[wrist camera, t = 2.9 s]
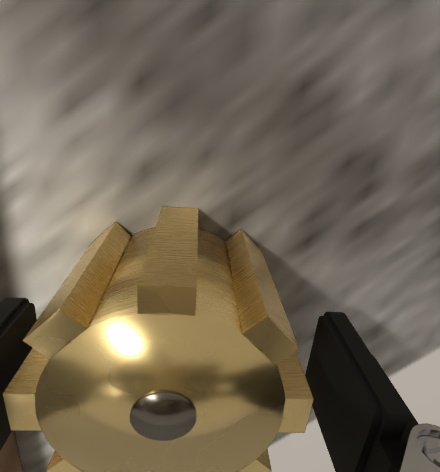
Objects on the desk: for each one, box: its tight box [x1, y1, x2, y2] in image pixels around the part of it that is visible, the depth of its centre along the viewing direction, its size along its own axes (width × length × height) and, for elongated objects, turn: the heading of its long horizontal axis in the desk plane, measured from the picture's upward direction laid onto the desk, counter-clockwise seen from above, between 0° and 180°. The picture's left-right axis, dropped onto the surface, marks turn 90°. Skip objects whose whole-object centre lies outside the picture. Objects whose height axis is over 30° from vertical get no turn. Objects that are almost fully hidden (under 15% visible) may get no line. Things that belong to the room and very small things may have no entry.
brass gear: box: [3, 206, 314, 472], centre depth 10 cm, size 7×7×5 cm
